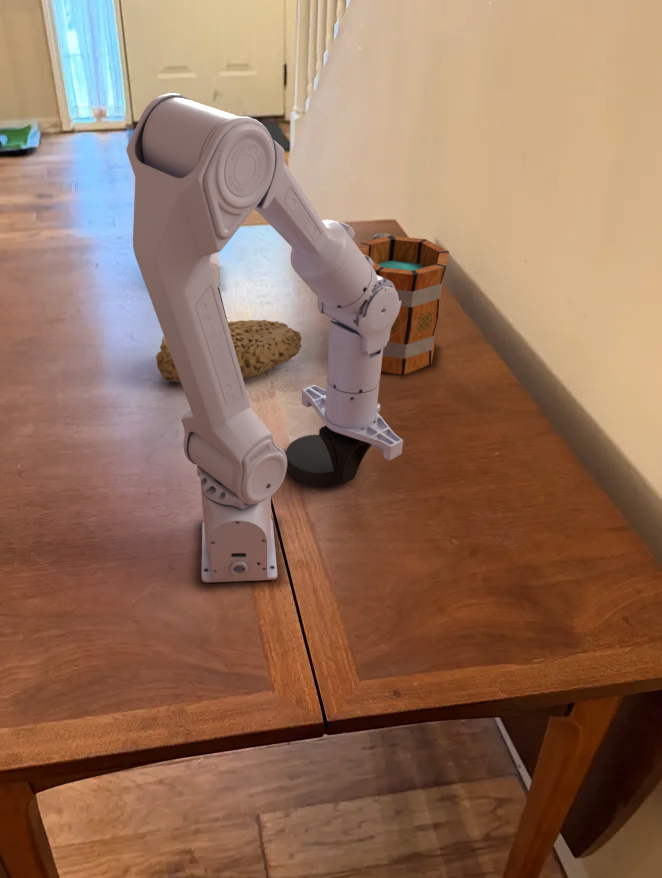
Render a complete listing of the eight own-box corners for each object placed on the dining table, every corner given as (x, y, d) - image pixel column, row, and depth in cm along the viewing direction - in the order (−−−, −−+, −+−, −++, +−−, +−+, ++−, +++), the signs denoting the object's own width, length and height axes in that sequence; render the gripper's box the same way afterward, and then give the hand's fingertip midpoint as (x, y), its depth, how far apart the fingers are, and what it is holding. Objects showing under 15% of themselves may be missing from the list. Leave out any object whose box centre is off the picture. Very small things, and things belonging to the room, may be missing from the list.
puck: (354, 484, 94) (355, 471, 93) (288, 487, 94) (288, 474, 92) (345, 446, 100) (346, 433, 99) (283, 448, 99) (283, 435, 98)
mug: (447, 371, 114) (465, 272, 103) (357, 378, 112) (366, 278, 102) (411, 310, 128) (423, 217, 118) (330, 315, 126) (335, 222, 116)
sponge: (163, 402, 110) (302, 379, 106) (147, 348, 106) (291, 323, 102) (179, 370, 121) (306, 348, 117) (166, 320, 117) (297, 297, 113)
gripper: (428, 395, 82) (412, 494, 91) (335, 342, 90) (329, 439, 99) (380, 418, 79) (369, 519, 88) (288, 362, 87) (287, 459, 96)
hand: (345, 478), depth 93 cm, fingers closed
